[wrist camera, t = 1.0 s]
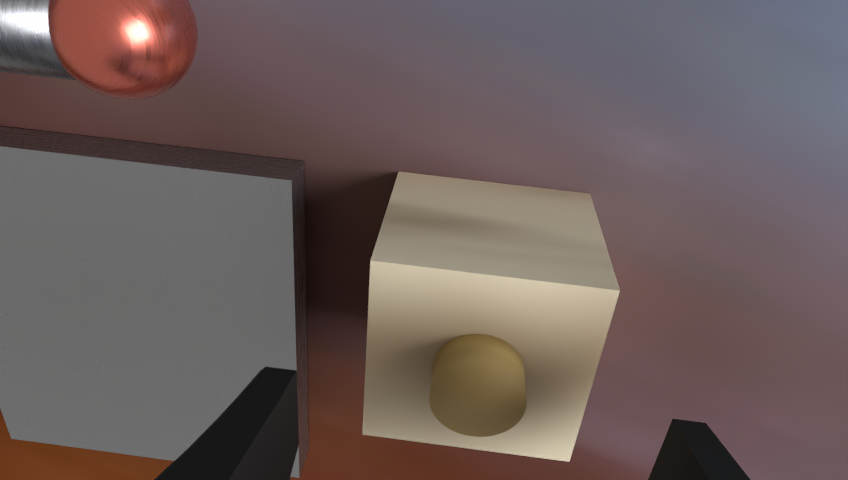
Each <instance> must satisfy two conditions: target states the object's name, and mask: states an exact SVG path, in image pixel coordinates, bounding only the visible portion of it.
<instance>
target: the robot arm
mask: <svg viewBox="0 0 848 480" xmlns="http://www.w3.org/2000/svg"><path fill="white" fill-rule="evenodd" d="M298 445H299V433H298V398H297V371H296V370H289V369H281V368H273V367H265V368H263V369H262V370H260V371H259V373H258V374H257V375H256V376H255V377H254V378H253V380H252V381H251V382H250V383H249V384H248V385H247V386H246V388H245V389H244V390H243V391H242V392H241V393H240V394H239V395H238V397H237V398H236V399H235V400H234V401H233V402H232V403H231V404H230V405H229V406H228V408H227V409H226V410H225V411H224V412H223V413H222V414H221V415H220V416H219V417H218V418H217V419H216V420H215V421H214V422H213V423H212V424H211V425H210V426H209V427H208V428H207V429H206V431H205V432H204V433H203V434H202V435H201V436H200V437H199V438H198V439H197V440H196V441H195V442H194V443H193V444H192V445H191V446H190V447H189V448H188V449H187V450H186V451H185V452H184V453H183V454H182V455H180V456H179V457H178V458H177V459H176V460H175V461H174V462H173V463H172V464H171V465H170V466H168V467H167V468H166V469H165V470H164V471H163V472H162V473H161V474H160V475H159V476H158V477H157V478H155V479H154V480H289V479H290V476H291V472H292V468H293V464H294V461H295V457H296V453H297V449H298ZM648 480H750V479H749V477H748V476H747V475H746V474H745V472H744V471H743V470H742V469H741V467H740V466H739V465H738V464H737V462H736V461H735V460H734V458H733V457H732V456H731V455H730V453H729V452H728V451H727V449H726V448H725V447H724V446H723V444H722V443H721V442H720V441H719V439H718V438H717V437H716V435H715V434H714V433H713V432H712V430H711V429H710V428H709V427H708V425H707V424H706V423H701V422H693V421H685V420H678V419H673V420H672V422H671V425H670V427H669V430H668V432H667V435H666V437H665V440H664V442H663V445H662V447H661V449H660V452H659V454H658V457H657V459H656V462H655V464H654V467H653V469H652V472H651V474H650V477H649V479H648Z"/></svg>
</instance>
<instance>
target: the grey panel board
mask: <svg viewBox="0 0 848 480" xmlns="http://www.w3.org/2000/svg"><path fill="white" fill-rule="evenodd" d="M265 367H273V368H281V369H289V370H296V371H297V398H298V433H299V445H298V449H297V453H296V457H295V461H294V464H293V468H292V472H291V476H290V477H297V478H300V475H301V472H302V469H303V465H304V462H305V459H306V456H307V453H308V450H309V446H308V380H307V315H306V249H305V183H304V161H296V160H288V159H279V158H271V157H262V156H253V155H245V154H236V153H227V152H219V151H210V150H202V149H193V148H184V147H176V146H167V145H158V144H150V143H141V142H133V141H124V140H115V139H107V138H98V137H89V136H81V135H72V134H64V133H55V132H46V131H38V130H29V129H20V128H12V127H3V126H0V408H1V411H2V414H3V417H4V420H5V422H6V425H7V428H8V431H9V433H10V436H11V439H18V440H25V441H33V442H40V443H47V444H55V445H62V446H69V447H77V448H84V449H91V450H99V451H106V452H113V453H121V454H128V455H135V456H143V457H150V458H157V459H165V460H172V461H175V460H176V459H177V458H178V457H179V456H180V455H182V454H183V453H184V452H185V451H186V450H187V449H188V448H189V447H190V446H191V445H192V444H193V443H194V442H195V441H196V440H197V439H198V438H199V437H200V436H201V435H202V434H203V433H204V432H205V431H206V429H207V428H208V427H209V426H210V425H211V424H212V423H213V422H214V421H215V420H216V419H217V418H218V417H219V416H220V415H221V414H222V413H223V412H224V411H225V410H226V409H227V408H228V406H229V405H230V404H231V403H232V402H233V401H234V400H235V399H236V398H237V397H238V395H239V394H240V393H241V392H242V391H243V390H244V389H245V388H246V386H247V385H248V384H249V383H250V382H251V381H252V380H253V378H254V377H255V376H256V375H257V374H258V373H259V371H260V370H262V369H263V368H265Z"/></svg>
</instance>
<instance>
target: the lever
mask: <svg viewBox="0 0 848 480" xmlns="http://www.w3.org/2000/svg"><path fill="white" fill-rule="evenodd" d="M197 40H198V34H197V24H196V20H195V16H194V13H193V10H192V8H191V5H190V3H189V1H188V0H0V71H1V72H9V73H18V74H27V75H36V76H45V77H54V78H63V79H72V80H77V81H79V82H80V83H81V84H83V85H84V86H86V87H88V88H89V89H91V90H93V91H95V92H98V93H100V94H103V95H106V96H109V97H113V98H118V99H132V100H135V99H144V98H148V97H153V96H156V95H158V94H161V93H163V92H165V91H167V90H168V89H170V88H171V87H173V86H174V85H175V84H176V83H177V82H179V81H180V80H181V79H182V78H183V76H184V75H185V74H186V72H187V71H188V69H189V67H190V66H191V64H192V62H193V59H194V56H195V52H196V48H197Z"/></svg>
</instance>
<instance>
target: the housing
mask: <svg viewBox="0 0 848 480" xmlns="http://www.w3.org/2000/svg"><path fill="white" fill-rule="evenodd" d="M619 292H620V290H619V286H618V283H617V280H616V277H615V273H614V270H613V267H612V264H611V260H610V257H609V254H608V251H607V247H606V244H605V241H604V238H603V234H602V231H601V228H600V225H599V221H598V218H597V215H596V212H595V208H594V205H593V202H592V199H591V195H590V194H589V193H580V192H571V191H563V190H554V189H545V188H536V187H528V186H519V185H510V184H502V183H493V182H484V181H476V180H467V179H458V178H450V177H441V176H432V175H423V174H415V173H406V172H398V175H397V178H396V181H395V184H394V188H393V191H392V194H391V197H390V200H389V203H388V207H387V210H386V213H385V216H384V219H383V222H382V226H381V229H380V232H379V235H378V238H377V241H376V244H375V248H374V251H373V254H372V257H371V260H370V280H369V302H368V324H367V346H366V368H365V390H364V412H363V435H370V436H378V437H386V438H393V439H401V440H408V441H416V442H424V443H431V444H439V445H446V446H454V447H461V448H469V449H477V450H484V451H492V452H499V453H507V454H515V455H522V456H530V457H537V458H545V459H553V460H560V461H568V462H570V458H571V455H572V451H573V448H574V445H575V441H576V438H577V434H578V431H579V428H580V424H581V421H582V417H583V414H584V411H585V407H586V404H587V401H588V397H589V394H590V390H591V387H592V384H593V380H594V377H595V373H596V370H597V367H598V363H599V360H600V356H601V353H602V350H603V346H604V343H605V339H606V336H607V333H608V329H609V326H610V322H611V319H612V316H613V312H614V309H615V305H616V302H617V299H618V295H619Z"/></svg>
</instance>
